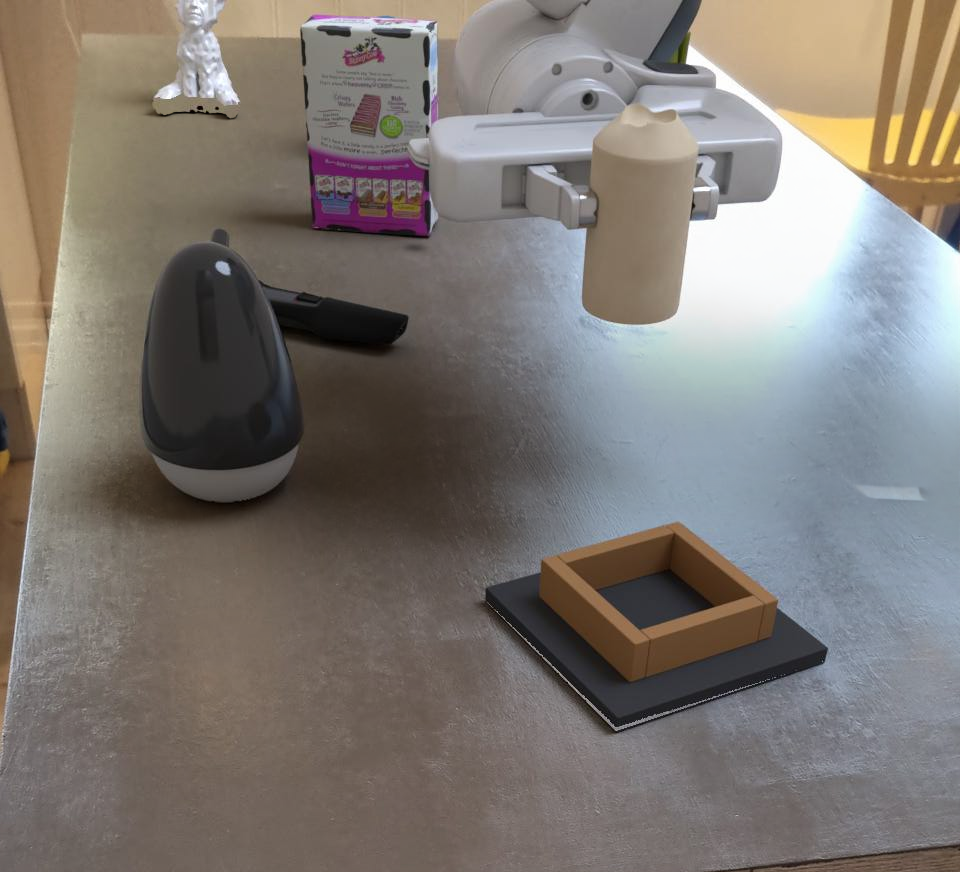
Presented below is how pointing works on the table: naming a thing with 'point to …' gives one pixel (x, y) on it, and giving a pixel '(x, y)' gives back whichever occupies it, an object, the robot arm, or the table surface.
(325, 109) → the candy bar box
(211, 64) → the sitting furry creature
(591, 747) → the table surface
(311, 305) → the electric trimmer
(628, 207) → the candle
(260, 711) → the table surface
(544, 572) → the dock
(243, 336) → the grey white egg shape
